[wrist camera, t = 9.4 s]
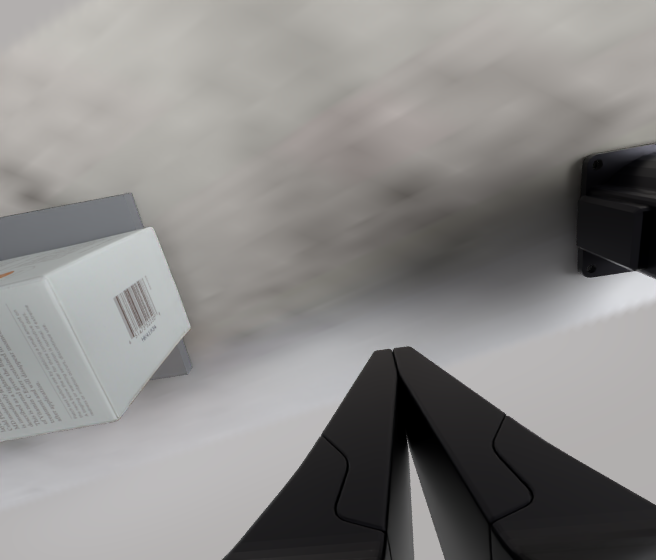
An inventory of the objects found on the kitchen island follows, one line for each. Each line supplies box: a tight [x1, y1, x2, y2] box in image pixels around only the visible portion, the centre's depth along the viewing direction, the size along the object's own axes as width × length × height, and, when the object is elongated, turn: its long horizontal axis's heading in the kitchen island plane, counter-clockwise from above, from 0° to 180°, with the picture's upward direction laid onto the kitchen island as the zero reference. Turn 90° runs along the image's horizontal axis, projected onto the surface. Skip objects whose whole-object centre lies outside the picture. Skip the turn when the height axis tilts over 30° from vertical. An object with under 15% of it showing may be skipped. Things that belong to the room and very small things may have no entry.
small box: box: [0, 227, 191, 442], centre depth 18 cm, size 8×6×13 cm
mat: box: [0, 193, 192, 380], centre depth 22 cm, size 15×11×1 cm
